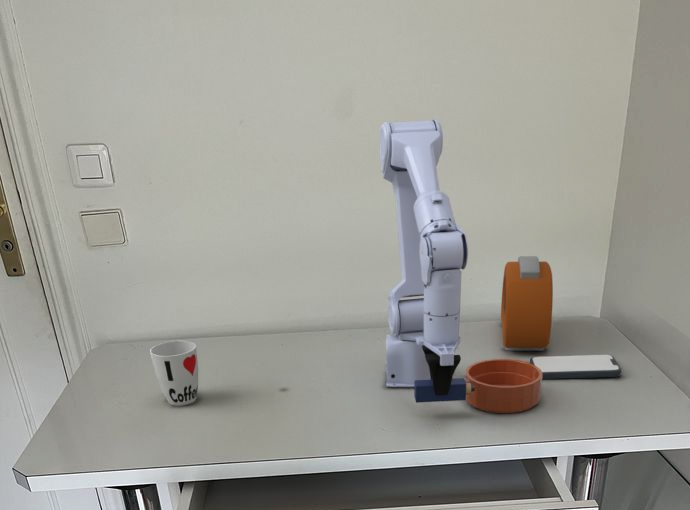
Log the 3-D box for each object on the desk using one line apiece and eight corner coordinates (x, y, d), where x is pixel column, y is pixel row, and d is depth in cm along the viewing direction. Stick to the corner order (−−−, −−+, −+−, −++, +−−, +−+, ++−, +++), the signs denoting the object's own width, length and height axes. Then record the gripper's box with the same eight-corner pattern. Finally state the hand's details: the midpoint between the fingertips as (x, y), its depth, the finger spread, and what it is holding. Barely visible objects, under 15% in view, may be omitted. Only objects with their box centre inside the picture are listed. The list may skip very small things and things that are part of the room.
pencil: (415, 402, 122) (416, 386, 120) (414, 396, 124) (414, 380, 123) (475, 400, 122) (476, 383, 120) (472, 393, 124) (473, 377, 123)
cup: (166, 412, 130) (156, 359, 125) (155, 397, 136) (144, 346, 131) (210, 402, 133) (201, 350, 128) (197, 388, 140) (188, 337, 134)
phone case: (534, 381, 137) (622, 378, 135) (535, 373, 136) (623, 370, 135) (528, 364, 144) (611, 361, 143) (529, 356, 143) (612, 353, 142)
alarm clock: (500, 320, 167) (505, 244, 158) (540, 320, 166) (547, 244, 157) (503, 356, 147) (508, 273, 139) (548, 357, 146) (557, 272, 137)
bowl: (465, 414, 125) (466, 387, 122) (463, 384, 136) (464, 358, 134) (543, 414, 124) (546, 387, 121) (535, 384, 135) (538, 358, 132)
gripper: (412, 298, 121) (411, 375, 128) (421, 327, 109) (421, 409, 116) (454, 296, 121) (451, 373, 129) (468, 324, 109) (465, 407, 116)
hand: (440, 390), depth 122 cm, fingers closed on pencil, 2 cm apart
